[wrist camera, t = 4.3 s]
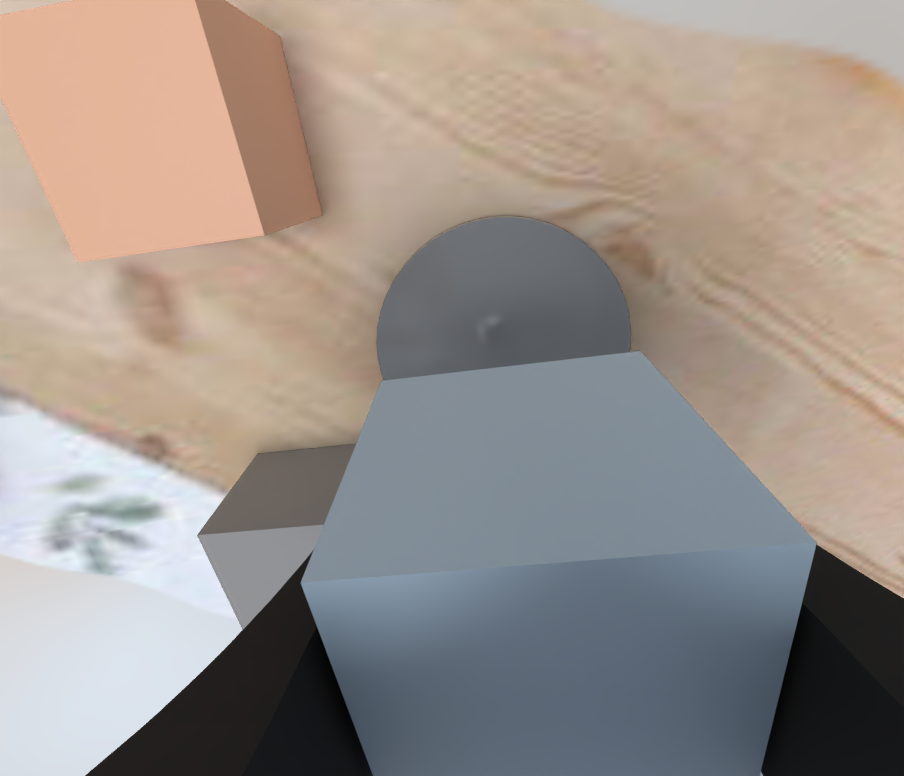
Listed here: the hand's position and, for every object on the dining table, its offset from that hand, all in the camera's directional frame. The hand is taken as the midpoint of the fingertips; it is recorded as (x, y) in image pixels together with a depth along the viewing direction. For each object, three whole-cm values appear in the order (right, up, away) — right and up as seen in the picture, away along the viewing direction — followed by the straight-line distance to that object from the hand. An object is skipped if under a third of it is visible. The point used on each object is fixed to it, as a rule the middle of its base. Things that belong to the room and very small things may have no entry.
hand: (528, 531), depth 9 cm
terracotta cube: (-9, +11, +7) cm, 15 cm away
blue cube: (0, +1, +2) cm, 2 cm away
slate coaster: (0, +4, +9) cm, 10 cm away
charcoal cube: (-7, -2, +13) cm, 14 cm away
